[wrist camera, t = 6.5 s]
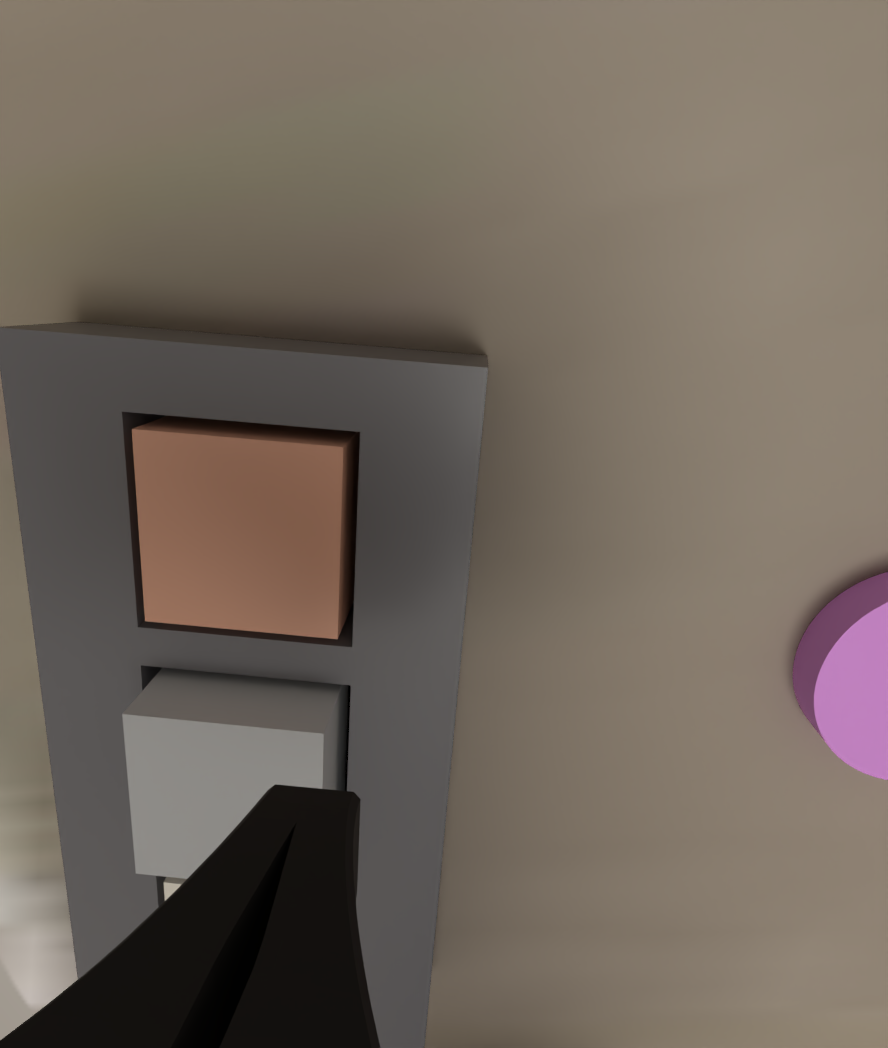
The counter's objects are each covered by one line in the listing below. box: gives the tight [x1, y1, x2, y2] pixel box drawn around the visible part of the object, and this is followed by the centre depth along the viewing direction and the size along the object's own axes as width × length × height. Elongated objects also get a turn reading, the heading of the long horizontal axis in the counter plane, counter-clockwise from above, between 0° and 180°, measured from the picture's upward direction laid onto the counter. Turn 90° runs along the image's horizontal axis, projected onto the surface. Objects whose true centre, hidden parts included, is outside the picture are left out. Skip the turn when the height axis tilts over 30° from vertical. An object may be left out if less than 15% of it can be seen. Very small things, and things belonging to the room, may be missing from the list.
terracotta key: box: [132, 416, 360, 639], centre depth 16 cm, size 4×4×3 cm
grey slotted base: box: [0, 322, 488, 1048], centre depth 18 cm, size 20×10×3 cm, turn 176°
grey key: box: [122, 668, 349, 879], centre depth 17 cm, size 4×4×3 cm
